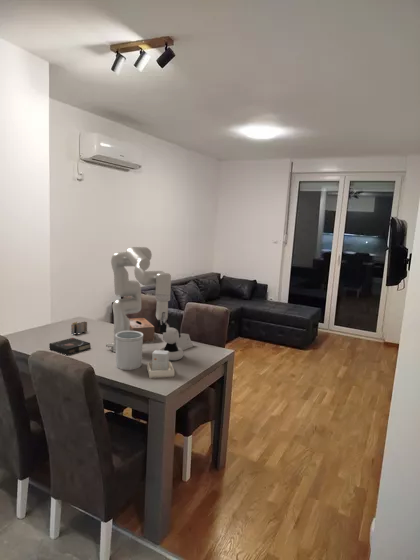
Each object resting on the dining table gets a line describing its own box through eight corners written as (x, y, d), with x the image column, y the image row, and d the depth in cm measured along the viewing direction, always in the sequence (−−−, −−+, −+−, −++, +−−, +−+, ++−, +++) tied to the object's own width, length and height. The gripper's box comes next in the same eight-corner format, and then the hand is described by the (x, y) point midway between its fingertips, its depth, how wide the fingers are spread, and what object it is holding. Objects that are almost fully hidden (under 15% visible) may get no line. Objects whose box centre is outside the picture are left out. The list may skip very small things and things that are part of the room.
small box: (168, 369, 197) (169, 350, 196) (166, 373, 192) (167, 354, 190) (153, 368, 197) (154, 349, 196) (151, 372, 192) (152, 353, 191)
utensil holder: (136, 371, 194) (137, 339, 192) (110, 368, 197) (110, 336, 195) (146, 362, 209) (147, 332, 206) (121, 359, 211) (122, 329, 209)
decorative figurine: (188, 358, 219) (190, 325, 216) (168, 363, 209) (170, 329, 206) (173, 351, 229) (174, 320, 227) (153, 356, 219) (154, 323, 217)
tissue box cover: (124, 332, 266) (124, 318, 265) (143, 331, 272) (144, 317, 271) (132, 343, 243) (132, 328, 242) (153, 341, 249) (154, 326, 248)
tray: (149, 378, 187) (149, 371, 186) (146, 369, 199) (147, 362, 198) (174, 376, 190) (174, 370, 190) (170, 367, 202) (170, 361, 202)
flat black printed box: (67, 356, 213) (67, 349, 213) (49, 349, 222) (49, 343, 222) (90, 349, 227) (90, 343, 226) (72, 343, 236) (72, 337, 236)
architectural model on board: (74, 336, 252) (74, 322, 251) (71, 335, 254) (71, 321, 252) (87, 332, 262) (87, 319, 261) (84, 331, 263) (84, 318, 262)
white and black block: (176, 352, 229) (173, 336, 229) (171, 352, 232) (167, 337, 232) (193, 346, 242) (190, 331, 243) (188, 347, 245) (185, 332, 246)
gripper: (153, 294, 197) (152, 325, 199) (157, 300, 180) (156, 334, 182) (167, 294, 199) (166, 325, 201) (172, 300, 182) (171, 334, 184)
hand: (161, 329), depth 192 cm, fingers open, 9 cm apart
